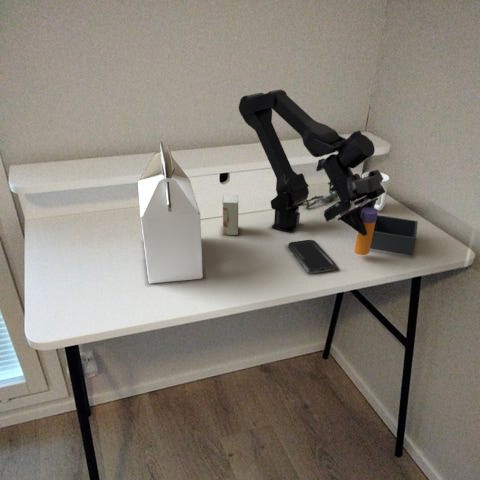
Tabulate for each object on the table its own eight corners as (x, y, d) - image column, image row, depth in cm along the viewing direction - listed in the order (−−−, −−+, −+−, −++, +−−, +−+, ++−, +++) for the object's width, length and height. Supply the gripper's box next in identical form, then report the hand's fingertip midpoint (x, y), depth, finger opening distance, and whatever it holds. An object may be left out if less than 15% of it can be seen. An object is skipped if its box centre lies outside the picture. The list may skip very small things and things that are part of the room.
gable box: (203, 279, 115) (198, 167, 98) (148, 284, 113) (134, 170, 95) (192, 237, 132) (187, 135, 115) (145, 241, 130) (132, 138, 113)
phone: (313, 239, 130) (337, 266, 119) (312, 242, 131) (336, 269, 119) (286, 242, 128) (308, 270, 117) (286, 246, 129) (308, 274, 117)
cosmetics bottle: (223, 226, 137) (223, 194, 131) (238, 227, 137) (238, 194, 131) (222, 235, 133) (222, 201, 127) (237, 235, 133) (238, 202, 127)
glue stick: (350, 250, 122) (358, 209, 115) (361, 246, 124) (369, 205, 117) (361, 256, 120) (370, 215, 113) (372, 252, 121) (381, 211, 114)
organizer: (365, 249, 128) (369, 231, 125) (369, 231, 137) (373, 214, 133) (411, 257, 125) (416, 238, 122) (412, 238, 134) (417, 220, 130)
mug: (392, 217, 145) (400, 185, 138) (368, 219, 143) (374, 187, 137) (375, 201, 154) (382, 170, 148) (352, 203, 152) (357, 172, 146)
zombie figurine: (300, 183, 147) (337, 176, 154) (298, 204, 151) (334, 196, 158) (311, 189, 144) (348, 181, 150) (308, 210, 148) (345, 201, 154)
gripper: (340, 170, 105) (372, 231, 105) (386, 152, 115) (415, 208, 116) (310, 192, 114) (339, 249, 115) (354, 174, 124) (381, 226, 125)
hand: (370, 232), depth 117 cm, fingers closed on glue stick, 4 cm apart
